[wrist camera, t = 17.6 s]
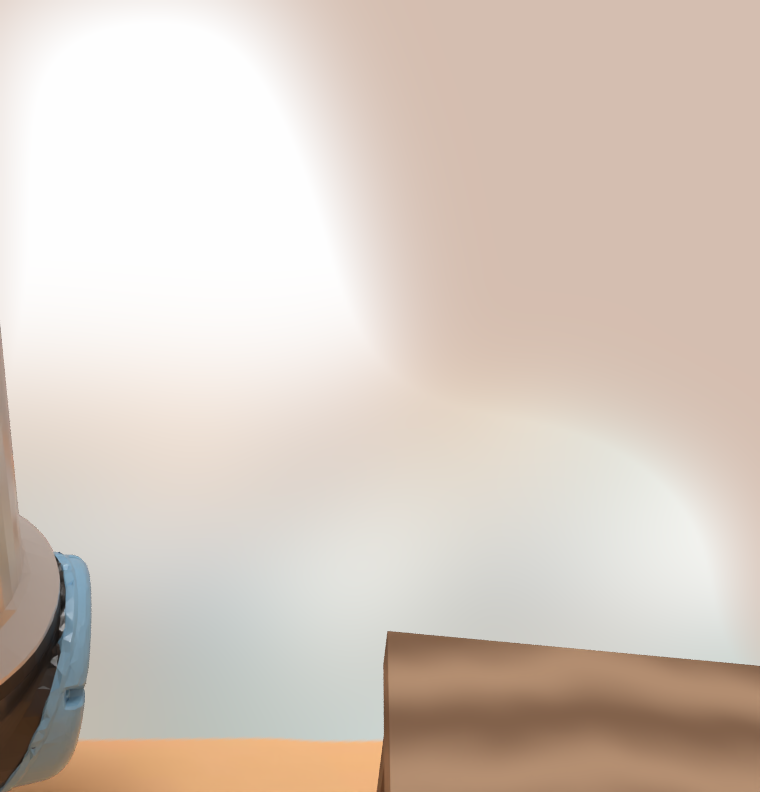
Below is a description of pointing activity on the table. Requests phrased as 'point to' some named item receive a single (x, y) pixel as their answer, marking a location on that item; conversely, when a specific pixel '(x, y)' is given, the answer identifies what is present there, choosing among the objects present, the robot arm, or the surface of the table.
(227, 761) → the table surface
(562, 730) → the walnut stool
